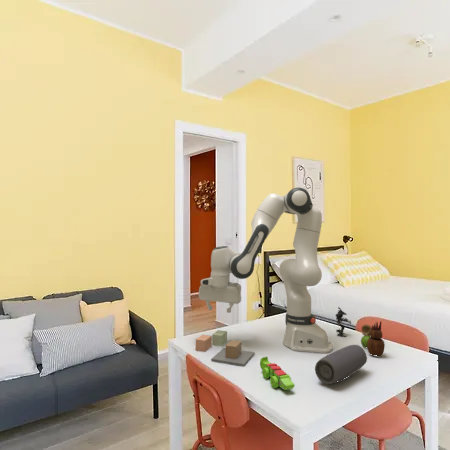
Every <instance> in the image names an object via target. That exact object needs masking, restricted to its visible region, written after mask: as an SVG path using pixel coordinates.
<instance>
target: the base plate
mask: <svg viewBox="0 0 450 450" xmlns="http://www.w3.org/2000/svg"><path fill="white" fill-rule="evenodd" d="M225 344H226V343H225ZM225 344H224V347H222V349H221V350H220V351H219V352H217V353H216V354H215V355H214V356H212V358H211V359H210V360H211V361H210V362H213V363H219V364H226V365H232V366H237V367H242V368H243V367H244V368H245V366H246V365H247V364H248V363H249V362H250V361H251V360H252V358H253V357H254V356H255V355H256V353H255V351H250V350H245V349H244V350H243V349H242V341H241V340H235V339H233V340H230V341H229V342H227V344H226V345H225Z"/></svg>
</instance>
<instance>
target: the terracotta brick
mask: <svg viewBox="0 0 450 450" xmlns="http://www.w3.org/2000/svg"><path fill="white" fill-rule="evenodd" d="M212 346H213V345H212V335H207V334H201V335H200V336H199V337H197V338H195V351H197V352H202V353H205V352H207V351H208V350H209V349H210V348H212Z"/></svg>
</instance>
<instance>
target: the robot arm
mask: <svg viewBox="0 0 450 450" xmlns="http://www.w3.org/2000/svg"><path fill="white" fill-rule="evenodd" d="M284 213H285V214H289V215H296V216H297V223H296V229H295V232H294V237H293V242H292V247H293V248H294V251H295V258H288V259H284V260H283V261H282V262H280V264H279V268H278V269H279V274H280V276H281V278H282V280H283V284H284V290H285V294H286V313H285V319H284V321H285V333H284V337H283V341H282V344H283V345H284V346H285V347H287V348H289V349H291V351H295V352H305V353H307V352H308V353H318V354H319V353H322V354H330V353H332V351H333V349H334V343H332V342H331V341H329V337H328V333H327V332H326V330H325V329H324V328H322V327H321V326H320V325H318V324H317V321H316V320H317V319H316V317H317V316H316V315H313V314H312V296H311V294H310V292H309V291H308V288H307V287H314V286H316V285H318V284H319V283H320V282H321V280H322V277H323V273H322V270H321V267H320V266H319V262H318V246H319V239H320V236H321V231H322V230H321V229H322V221H323V220H322V219H323V218H322V216H323V215H322V214H323V213H322V212H321V210H320V209H318V208H316V207H315V206H314V205H313V202H312V199H311V196H310V193H309V191H308V190H307V189H305V188H303V187H294V188H292V189H290V190H289V191H288V192H287V193H286V194H285V195H280V194H278V193H273V192H272V193H268V195H267V196H266V197H265V198H264V199H263V200H262V201H261V203H260V204H259V205H258V208H257V209H256V211H255V213H254V214H253V217H252V219H251V221H250V222H251V235H250V237H249V239H248V240H247V243H246V244H245V247H244V249H243V250H242V252H241V253H240V252H238V251H236V250H233V249H232V248H230V247H229V246H228V245H223V246H222V245H221V246H217V247H215V248H213V250H212V252H211V255H210V268H211V272H210V276H209V277H206V278H202V279H201V280H200V286H199V289H198V298H199V300H201V301H205V304H206V306H207V310H208V311H212V310H213V305H211V302H216V303H227V304H228V307H227V308H226V313H231V312H232V308H233V307H234V304H235V305H237V304H240V303H241V301H242V294H241V293H242V286H241V284H239V283H238V282H232V281H231V280H230V279H231V278H230V277H231V276H230V275H231V274H232V275H233V276H234V277H235V278H236V279H240V280H244V279H248V278H249V277H250V276H251V275H252V274H253V272H254V270H255V262H256V259H257V257H258V254H259V252H260V250H261V248H262V247H263V244H264V243H265V241H266V240H267V238H268V237H269V236H270V234H271V232H272V231H273V230H274V228H275V226H276V225H277V223H278V221H279V220H280V218H281V217H282V215H283V214H284Z"/></svg>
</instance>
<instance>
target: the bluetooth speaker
mask: <svg viewBox="0 0 450 450" xmlns="http://www.w3.org/2000/svg"><path fill="white" fill-rule="evenodd" d="M367 360H368V357H367V353H366V351H365V350H364V347H362V346H360V345H359V344H351V345H347V346H344V347H342V348H339V349H337V350H335V351H333V352H330V353H328V354H327V355H325V356H323V357H321V358H320V359H319V360H318V361H317V362H316V363H315V367H314V371H315V374H316V377H317V378H318V380H319V381H320V382H322V383H324V384H325V385H326V384H327V385H330V384H331V385H332V384H334V383H338V382H337V381H341V380H343V379H344V378H346V377H348V376H350V375H353V374H354V373H355V372H357V371H358V370H361V368H362V367H364V366H365V364H366V363H367V362H368V361H367ZM350 377H351V376H350ZM348 378H349V377H348ZM346 379H347V378H346ZM343 381H344V380H343ZM341 382H342V381H341Z"/></svg>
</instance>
